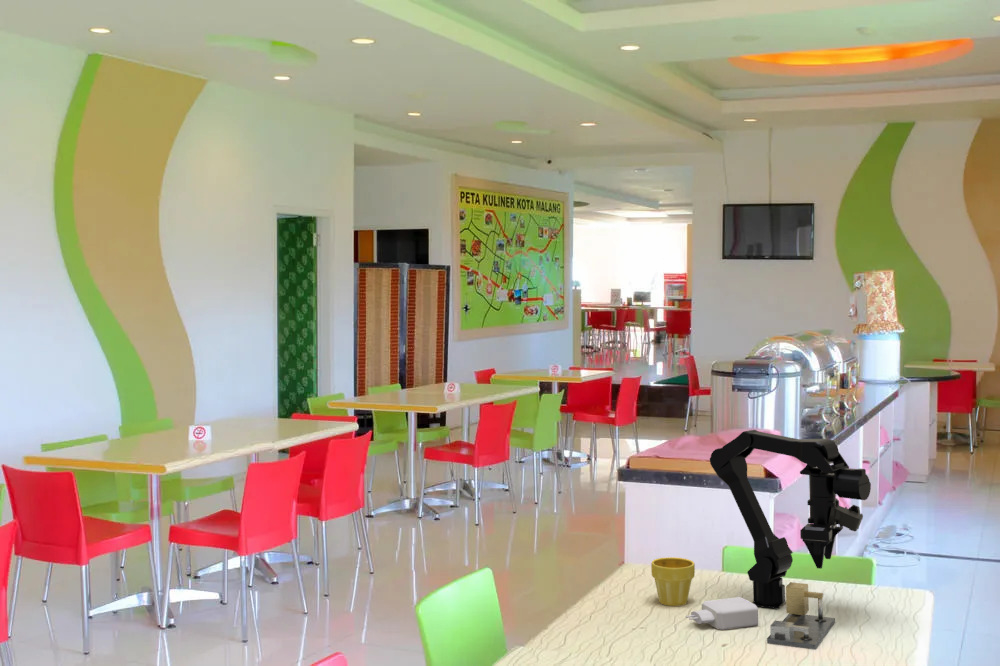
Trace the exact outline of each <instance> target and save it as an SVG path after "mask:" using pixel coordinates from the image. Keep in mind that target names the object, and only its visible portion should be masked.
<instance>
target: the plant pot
mask: <svg viewBox="0 0 1000 666" xmlns="http://www.w3.org/2000/svg"><path fill="white" fill-rule="evenodd" d="M650 565H651V567H650V568H651V576H652V578H654V581H655V582H654V583H655V588H656V592H657V597H658V601H659V603H660V604H661V605H664V606H667V607H680V606H684V605H686V604H688V600H689V596H690V595H689V594H690V590H691V584H692V580H693V579H694V577H695V574H696V573H695V572H696V571H695V570H696V568H695V567H696V566H695V565H696V564H695V562H694V561H693V560H690V559H688V558H682V557H675V556H674V557H672V556H671V557H670V556H668V557H660V558H656V559H653V560H651V564H650Z"/></svg>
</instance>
